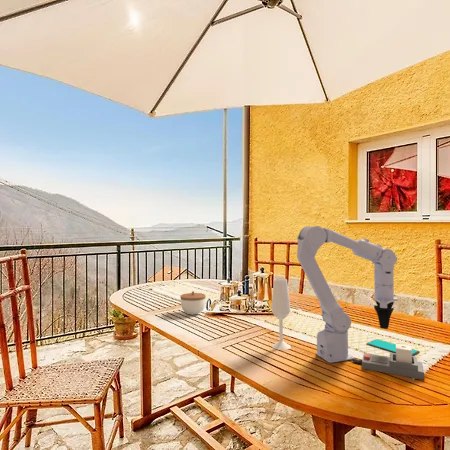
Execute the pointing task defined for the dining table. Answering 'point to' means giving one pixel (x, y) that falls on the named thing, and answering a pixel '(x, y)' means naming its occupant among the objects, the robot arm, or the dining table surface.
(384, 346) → the smartphone
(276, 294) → the champagne flute
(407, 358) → the block
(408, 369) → the power strip
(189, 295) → the lidded sugar bowl
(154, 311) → the dining table surface
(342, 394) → the dining table surface
